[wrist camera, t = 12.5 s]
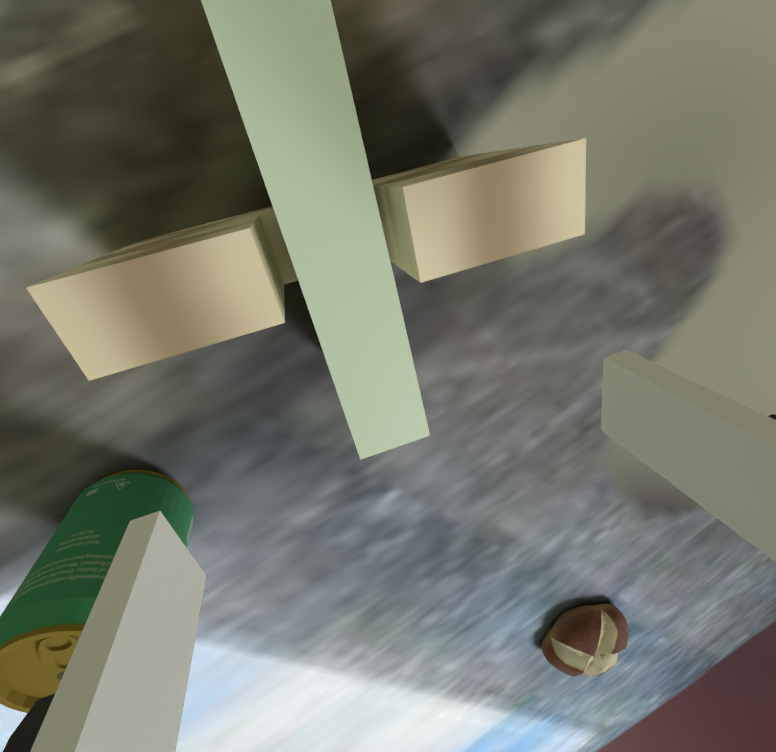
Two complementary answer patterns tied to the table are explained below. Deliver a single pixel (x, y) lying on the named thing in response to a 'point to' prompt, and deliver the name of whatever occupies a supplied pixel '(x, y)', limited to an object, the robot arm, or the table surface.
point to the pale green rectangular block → (324, 204)
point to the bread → (586, 640)
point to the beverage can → (76, 579)
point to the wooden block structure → (274, 266)
